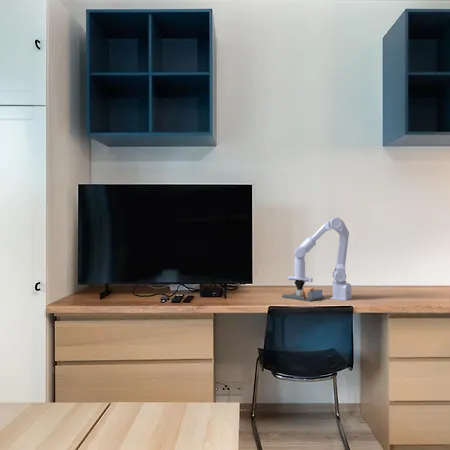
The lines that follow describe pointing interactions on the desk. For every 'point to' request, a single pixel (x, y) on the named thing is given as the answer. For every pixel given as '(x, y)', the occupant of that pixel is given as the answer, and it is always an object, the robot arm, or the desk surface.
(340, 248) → the robot arm
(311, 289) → the block
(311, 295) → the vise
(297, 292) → the moving jaw
